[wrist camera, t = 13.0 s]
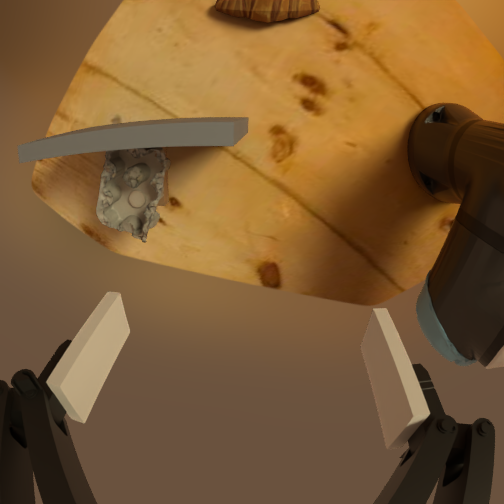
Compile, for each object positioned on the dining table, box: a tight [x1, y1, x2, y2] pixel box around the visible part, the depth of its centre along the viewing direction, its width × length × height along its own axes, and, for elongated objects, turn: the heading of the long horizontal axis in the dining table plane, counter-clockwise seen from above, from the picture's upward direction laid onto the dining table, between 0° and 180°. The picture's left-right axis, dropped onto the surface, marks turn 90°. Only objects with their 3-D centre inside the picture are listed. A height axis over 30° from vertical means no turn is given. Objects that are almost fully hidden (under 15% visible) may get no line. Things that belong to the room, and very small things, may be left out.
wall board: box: [18, 117, 248, 206], centre depth 32 cm, size 24×10×16 cm, turn 88°
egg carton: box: [96, 147, 171, 242], centre depth 31 cm, size 11×8×4 cm
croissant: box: [215, 0, 320, 23], centre depth 27 cm, size 14×7×5 cm, turn 90°
